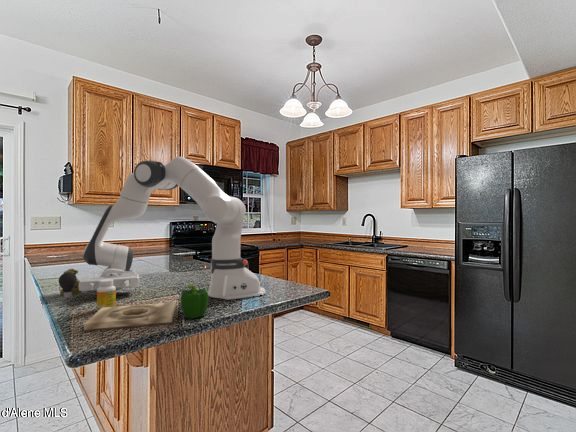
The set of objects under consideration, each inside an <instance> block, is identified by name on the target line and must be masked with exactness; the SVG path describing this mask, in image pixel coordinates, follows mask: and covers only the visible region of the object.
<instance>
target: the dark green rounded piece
mask: <svg viewBox="0 0 576 432" xmlns="http://www.w3.org/2000/svg"><path fill="white" fill-rule="evenodd" d="M67 272H71V273H73V274H75V275H76V276H77V274H78V273H79V270H77V269H75V268H68V269H67V270H65V271H63V274H64V273H67ZM79 281H80V280H79V279H78V278H77V281H76V284H75V285H74V287H73V290H72V296H76V295H79V294H81V293H83V291H79ZM59 287H60V289H59V296H62V297H64V292H63V289H62V287H61V286H60V285H59Z"/></svg>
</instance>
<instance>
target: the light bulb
mask: <svg viewBox="0 0 576 432" xmlns="http://www.w3.org/2000/svg"><path fill="white" fill-rule="evenodd" d="M77 279H78V277H77V274H76V275H75V274H73V273H71V272H67V273H64V272H63V274H61V275H60V276H59V278H58V284H59V287H60V286H61V287H62V288H61V287H60V288H61V289H63V292H64V296H63V298H64V299H65V300H70V299H71V298H72V296H73V295H72V290H73V287H74V285H75V284H76V281H77Z"/></svg>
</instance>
